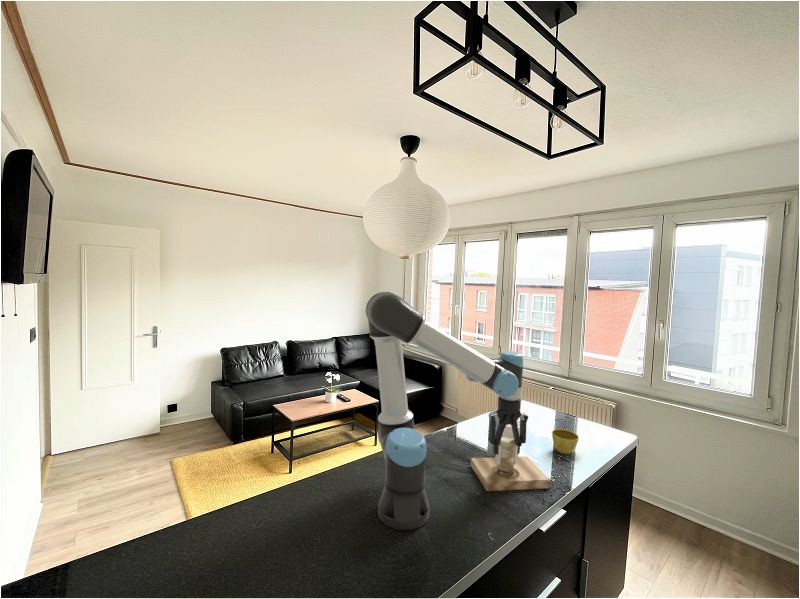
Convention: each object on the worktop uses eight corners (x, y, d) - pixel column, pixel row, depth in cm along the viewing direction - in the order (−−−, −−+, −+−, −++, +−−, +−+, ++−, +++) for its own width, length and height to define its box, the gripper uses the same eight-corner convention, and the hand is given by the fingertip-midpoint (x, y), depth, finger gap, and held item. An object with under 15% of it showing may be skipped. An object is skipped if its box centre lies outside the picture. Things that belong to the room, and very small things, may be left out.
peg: (500, 481, 126) (502, 444, 125) (494, 473, 131) (496, 437, 130) (516, 481, 127) (518, 444, 126) (509, 472, 132) (511, 437, 131)
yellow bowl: (580, 458, 147) (582, 441, 146) (554, 455, 148) (555, 438, 148) (573, 447, 157) (574, 430, 156) (548, 444, 158) (549, 428, 158)
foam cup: (523, 461, 143) (525, 428, 142) (498, 458, 144) (500, 425, 144) (520, 450, 152) (522, 419, 151) (497, 447, 154) (499, 416, 153)
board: (486, 491, 122) (486, 482, 122) (470, 466, 138) (471, 458, 137) (548, 488, 125) (549, 479, 125) (526, 464, 141) (526, 456, 140)
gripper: (488, 401, 122) (484, 469, 124) (540, 400, 125) (535, 467, 126) (480, 393, 130) (476, 458, 131) (529, 393, 132) (525, 456, 134)
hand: (505, 462), depth 129 cm, fingers closed on peg, 5 cm apart
